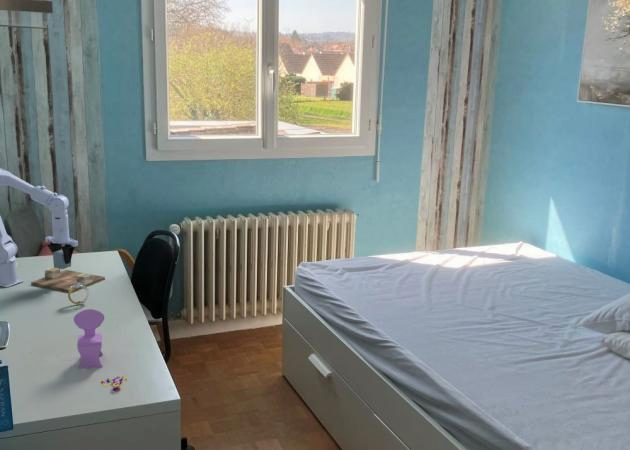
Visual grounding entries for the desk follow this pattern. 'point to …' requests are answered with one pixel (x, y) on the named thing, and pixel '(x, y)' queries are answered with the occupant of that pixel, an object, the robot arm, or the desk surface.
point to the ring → (74, 289)
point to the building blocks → (115, 385)
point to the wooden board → (66, 279)
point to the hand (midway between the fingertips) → (62, 262)
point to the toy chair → (89, 337)
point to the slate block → (60, 260)
